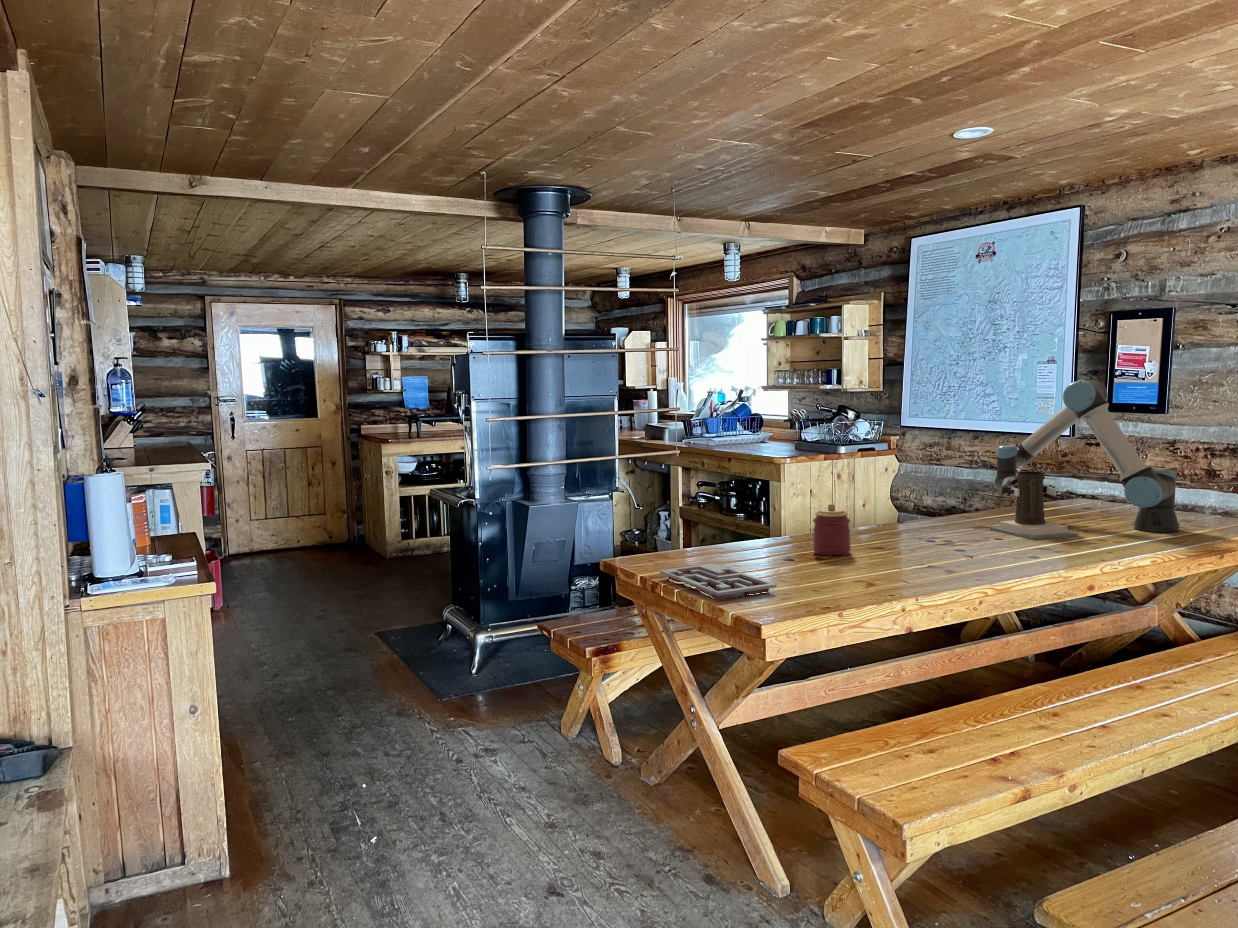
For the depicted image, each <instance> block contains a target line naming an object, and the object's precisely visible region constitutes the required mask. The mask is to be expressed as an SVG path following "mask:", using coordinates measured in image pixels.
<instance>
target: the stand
mask: <svg viewBox="0 0 1238 928" xmlns="http://www.w3.org/2000/svg"><path fill="white" fill-rule="evenodd" d="M989 530H990V531H993V530H994V531H995V532H999V533H1003V534H1007V535H1010V536H1011V535H1012V536H1016V537H1018V538H1023V539H1028V540H1044V539H1047V540H1048V539H1057V538H1069V537H1070V536H1071V537H1079V533H1077V532H1074V531H1073V532H1072V531H1069V530H1068V526H1067V525H1065V524H1064V525H1063V524H1058V523H1053V522H1049V521H1045V523H1044V524H1039V525H1026V524H1019V523H1016V522H1015V519H1013V520H1003V521H1002V520H1001V521H999V526H991V527H989ZM1071 537H1070V538H1071Z"/></svg>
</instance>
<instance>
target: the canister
mask: <svg viewBox="0 0 1238 928" xmlns="http://www.w3.org/2000/svg"><path fill="white" fill-rule="evenodd" d="M814 515H815V517H814V518H813V519H812V522H813V525H814V526H813V528H812V532H813V533H812V534H813V545H812V550H813V553H814V552H815V553H817V554H816V555H818V554H821V555H820V556H823V555H828V556H827V557H833V556H832V555H843V556H846V555H845V554H848V555H850V554H849V553H851V548H852V546H851V528H850V523H851V519H850V518H849V517H848V515H849V514H848V512H846V511H845V510H844V509H840V508H836V506H835V504H834V503H829V504H828V506H827V508H821V509H819V510H818V511H816V512H815V513H814ZM815 553H814V554H815Z"/></svg>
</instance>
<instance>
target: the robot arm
mask: <svg viewBox="0 0 1238 928" xmlns="http://www.w3.org/2000/svg"><path fill="white" fill-rule="evenodd" d="M1107 399H1108V390H1107V387H1106V386H1105V385H1104V384H1103V383H1102V382H1100V381H1099V380H1096V379H1086V380H1085V379H1079V380H1076V381H1073V382H1071V383H1070V384H1068V385H1067V386H1066V387H1065V388H1064V390H1063V395H1062V400H1063V403H1064V405H1065V406H1064V407H1063V408H1061V409H1060V410H1059V411H1057V413H1055V414H1054V415H1052V417H1051V418H1049V419H1048V420H1047V421H1046V422H1045V423H1043V425H1041V426H1040V427H1039V428H1037V429H1036V430H1035V431H1034V432H1033V433H1032V434H1031V435H1029V436H1028V437H1027V438H1025V439H1024V440H1023V441H1022V442H1021V443H1020V444H1018V446H1016V445H1012V444H1011V445H999V446H998V447H997V449H996V475H995V476H994V479H993V482H992V483H993V487H995V489H997V490H998V491H1000V492H1001V494H1002V495H1005V494H1006V495H1007V497H1011V496H1012V497H1013V496H1015V497H1016V498H1017V497H1018V496H1019V489H1017V481H1018V480H1017V478H1016V476H1017V473H1018V472H1017V467H1022V466H1023V467H1024V466H1026V465H1029V464H1030V463H1031V462H1032V460H1033V458H1034V457H1035V456H1037V455H1038V454H1039V453H1040V452H1041V451H1042V450H1044V449H1045V448H1046V447H1048V446H1049V445H1050V444H1051V443H1052V442H1054V441H1055V440H1056V439H1058V438H1059V437H1060V436H1061V435H1062V434H1063V433H1065V432H1066V431H1067V430H1068V429H1069V428H1072V426H1073V425H1075V424H1076V423H1077V422H1078V421H1083V422H1085V423H1086V425H1087V426H1088V427H1089V429H1090V430H1091V432H1092V433H1093V435H1094V437H1095V438H1096V439H1097V441H1098V442H1099V445H1101V447H1102V448H1103V450H1104V452H1105V454H1107V456H1108V457H1109V459H1110V461H1111V462H1112V464H1113V465H1114V466H1115V468H1116V469H1117V471H1118V473H1119V474H1120V477H1119V482H1120V483H1121V485H1122V487H1123V488H1124V496H1125V498H1126V500H1127V501H1128V502H1129V503H1130V504H1131V505H1133V506H1135V507H1138V508H1139V509H1138V512H1137V514H1136V517H1135V520H1134V522H1133V529H1135V530H1136V531H1137V530H1139V531H1142V532H1151V533H1177V532H1179V531H1180V530H1181V529H1180V527H1181V525H1180V522H1178V517H1177V514H1176V508H1175V507H1176V481H1177V477H1176V472H1175V471H1173V470H1165V469H1164V470H1163V469H1162V470H1161V469H1154V468H1153V467H1152V466H1151V465H1150V464H1146V463H1144V462H1143V461H1142V459H1141V457H1140V456H1139V454H1138V453H1137V452H1136V450H1135V449H1134V447H1133V445H1132V444H1131V443H1130V441H1129V440H1128V438H1127V436H1126V435H1125V434H1124V432H1123V431H1122V429H1121V427H1120V426H1119V425H1118V423H1117V422H1116V420H1115V419H1114V418H1113V416H1112V415H1111V413H1110V411H1109V405H1110V403H1109V402H1108V400H1107ZM1043 494H1047V495H1050V496H1053V497H1054V496H1055V497H1056V496H1057V488H1056V486H1055V485H1054V486H1052V484H1049V485H1046V484H1045V485H1044V484H1043ZM1176 531H1177V532H1176Z"/></svg>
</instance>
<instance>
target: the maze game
mask: <svg viewBox="0 0 1238 928" xmlns="http://www.w3.org/2000/svg"><path fill="white" fill-rule="evenodd" d="M659 573H660V574H661V575H664V576H666V577H668V580H669V579H672V580H674V581H677V582H684V583H686V584H689V585H691V586H694V587H696V588H698V589H700V591H702V592H704V593H706V594H708V595H710V596H712V597H713V598H715V599H717V600H720V601H723V600H722V599H727V600H731V598H733V599H737V598H736V597H740V598H743V597H742V596H744V595H745V594H748V595H749V594H756V593H762V592H768V591H769V592H770V589H773V588H774V589H775V588H777V584H776V583H773V582H770V581H768V580H764V579H761V578H759V577H755V576H752V575H751V574H746V573H743V572H741V571H737V570H734V569H731V568H728V567H725V566H722V565H720V564H717V563H716V564H715V563H707V564H701V565H700V564H699V565H693V566H692V565H691V566H685V567H677V568H669V569H660V571H659ZM683 574H690V575H685V576H683ZM708 586H710V587H712V588H714V590H713V589H711V588H708ZM745 596H746V595H745ZM715 599H714V600H715ZM717 600H716V601H717Z"/></svg>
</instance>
